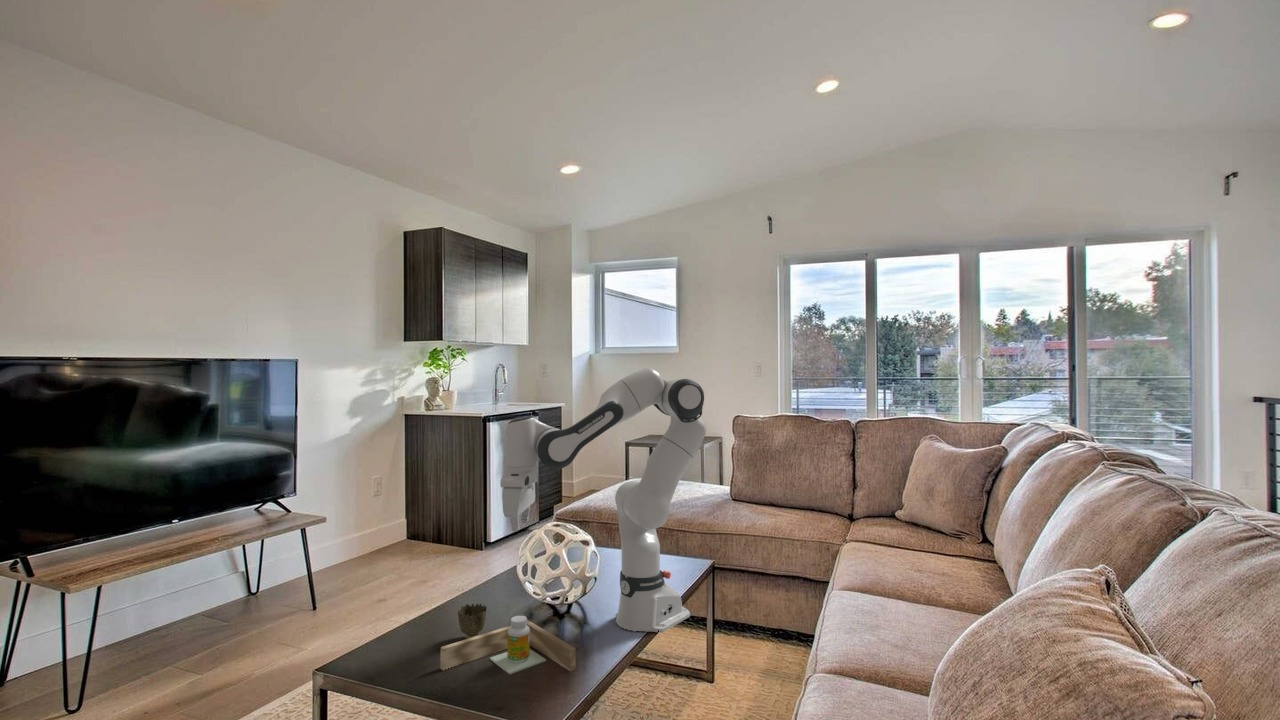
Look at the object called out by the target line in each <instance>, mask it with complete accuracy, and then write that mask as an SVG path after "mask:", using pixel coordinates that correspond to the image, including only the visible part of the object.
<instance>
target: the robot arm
mask: <svg viewBox="0 0 1280 720" xmlns="http://www.w3.org/2000/svg"><path fill="white" fill-rule="evenodd" d="M704 403H705V393H704V389H703V388H702V386H701V385H700V384H699V383H697V382H696V381H694V380H692V379H690V378H678V379H676V378H675V379H672V380H664V379H663V377H662V375H661V374H660V372H658V371H657V370H655V369H654V368H651V367H645V368H642V369H639V370H637V371H635V372H632V373H630V374H628V375H626V376H625V377H623V378H621V379H620V380H618V381H617V382H615V383H613V384H612V385H610V387H608V388H607V389H606V390H605V391H603V393H602V394H601V395H600V399H599V402H598V404H597V406H596V407H595V409H594V410H593V411H591V413H589V414H587V415H586V416H584V417H583V418H581V419H580V420H579V421H577V422H576V423H574V424H572V425H571V426H569V427H567V428H565V429H560V428H556V427H554V426H551V425H548V424H546V423H544V422H541V421H540V420H538V419H536V418H535V417H534V416H532V415H528V416H519V417H516V418H513V419H511V420H510V421H509V422H508V423H507V425H506V427H505V433H504V453H505V461H504V464H503V465H504V468H503V469H504V471H503V475H502V477H501V479H500V488H502V494H501V497H502V513H503V514H504V517H505V518H509V521H510V524H511V531H512V532H518V531H519V530H520V529H521V528H520V525H521V524H526V523H527V522H529V520H530V519H529V516H530V510H531V505H533V504H534V503H535V501H536V482H537V481H538V462H539V461H540V462H541V463H542V464H543V465H544V466H545V467H547V468H549V469H552V470H562V469H563V468H566V467H567V466H569V465H570V464H572V462H573V461H574V460H575V458H576V457H577V456H578V454H579V452H580V451H581V450H582V449H583V448H584V447H585V446H586V445H588V444H589V443H591V442H593V441H594V440H595V439H596V438H597V437H599V436H601V435H602V434H604V433H605V432H606V431H607V430H609V429H611V428H613V427H615V426H616V425H619V424H622V423H623V422H626V421H627V420H629V419H631V418H633V417H635V416H636V415H638V414H640V413H642V411H644V410H646V409H648V408H649V407H650V406H654V407H655V408H656V409H657V410H658V411H660V412H661V414H664V415H666V416H669V417H670V423H669V426H668V429H667V430H666V431H665V433H664V434H663V436H662V437H661V438H660V440H659V441H658V443H657V444H656V446H655V447H654V449H653V450H652V452H651V454H650V455H649V457H648V458H647V460H646V466H645V469H644V472H643V475H642V476H641V479H640V481H636V480H635V481H634V480H633V481H626V482H624V483H622V484H621V485H620V486H619V487H618V488H617V490H616V492H615V496H614V500H615V505H616V512H617V520H618V528H619V535H620V536H619V537H620V542H621V543H620V544H621V546H620V547H621V570H620V572H619V573H620V574H619V585H620V586H619V587H620V595H619V605H618V609H617V614H616V618H615V624H616V623H617V624H618V625H619V626H620V627H619V626H618V625H617V624H616V625H617V626H618V627H619V628H621V627H622V628H621V629H623V628H624V629H623V630H626V629H627V630H626V631H630V630H633V631H632V632H636V631H645V632H648V633H649V632H651V633H652V632H654V633H664V632H666V631H668V630H670V629H671V628H673V627H675V626H676V625H678V624H680V623H681V622H683V621H684V620H686V619H688V618H689V617H691V611H690V610H688V609H687V608H686V607H684V606H683V602H682V597H681V595H680V593H679V592H678V591H676V589H674V587H673V588H672V587H671V586H670V585H668V584H667V583H666V582H665V579H667V580H669V579H671V577H672V573H671V572H670V571H668V570H661V549H660V548H661V545H660V540H659V538H658V533H657V529H659V528H661V527H662V526H663V525H665V523H666V522H667V520H668V518H669V515H670V505H671V503H672V500H673V497H674V495H675V492H676V489H677V486H678V484H679V482H680V480H681V479H682V477H683V475H684V474H685V472H686V470H687V469H688V468H689V466H690V464H691V462H693V459H694V458H695V457H696V455H697V453H698V452H699V449H700V447H701V446H702V443H703V441H704V439H705V437H706V433H707V427H706V424H705V423H704V421H703V420H702V419H701V417H702V415H703V407H704ZM520 515H521V516H520ZM519 519H520V521H519ZM520 523H521V524H520ZM664 578H665V579H664ZM658 630H659V632H658Z"/></svg>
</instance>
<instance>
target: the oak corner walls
mask: <svg viewBox="0 0 1280 720" xmlns="http://www.w3.org/2000/svg"><path fill="white" fill-rule="evenodd" d="M527 626H528V627H529V628H530V647H532V648H534V649H535V650H536V651H538V652H539V653H541V654H543V655H544V656H546V657H547V658H549V659H550V660H551V661H553V662H555V663H557V664H558V665H560V666H561V667H563V668H564V669H565V670H567V671H569V672H573V671H575V670H576V647H574V646H572V645H571V644H569V643H567V642H566V641H564V640H562V639H561V638H559V637H557V636H555V635H554V634H552V633H551V632H549V631H547V630H545V629H544V628H542V627H541V626H539V625H537V624H535V623H534V622H532V621H530V620H528V619H527ZM510 627H511V625H508V626H504V627H501V628H498V629H496V630H492V631H489V632H485V633H482V634H479V635H478V636H475V637H472V638H469V639H466V638H465V639H463V640H460V641H456V642H453V643H450V644H446V645H443V646H441V647H440V660H439V661H440V663H439V664H440V667H439V668H440V670H442V671H446V670H449V669H452V668H454V666H455V667H457V666H460V664H461V665H464V664H467V663H470V662H472V661H476V660H479V659H481V658H484V657H487V656H490V655H493V654H496V653H499V652H502V651H506V650H508V629H509V628H510ZM463 663H464V664H463ZM451 667H452V668H451ZM448 668H449V669H448ZM445 669H446V670H445Z"/></svg>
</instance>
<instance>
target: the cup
mask: <svg viewBox="0 0 1280 720" xmlns="http://www.w3.org/2000/svg"><path fill="white" fill-rule="evenodd" d="M457 609H458V608H457ZM486 614H487V606H485V604H483V605H482V603H480V604H479V603H476V604H475V605H474V603H472V604H471V605H469V604H468V603H467V604H465V605H464V606H463V605H461V607H460V609H458V610H457V615H458V624H459V629H460V631H461V632H462V634H464V638H465V639H469V638H472V637H475V636H478V635H480V633H481V631H483V629H484V627H485V622H486V617H487V615H486Z"/></svg>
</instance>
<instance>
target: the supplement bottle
mask: <svg viewBox="0 0 1280 720" xmlns="http://www.w3.org/2000/svg"><path fill="white" fill-rule="evenodd" d="M527 620H528V617H526V616H525V615H515V616H513V617H511V618H510V626H511V627H510V628H509V629H508V649H507V650H506V652H507V658H508V661H510V662H512V663H521V662H525V661H527V660H528V659H529V656H530V649H531V646H530V628H529V627H528V626H527Z"/></svg>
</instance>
